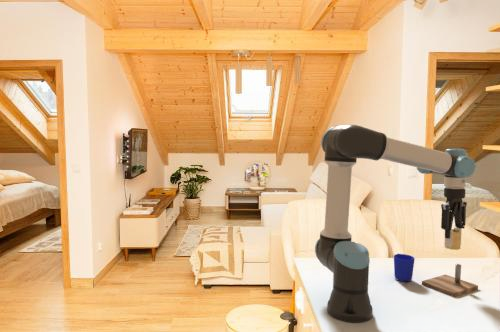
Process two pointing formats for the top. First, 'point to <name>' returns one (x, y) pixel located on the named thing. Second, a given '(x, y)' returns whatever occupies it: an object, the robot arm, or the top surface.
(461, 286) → the board
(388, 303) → the top surface
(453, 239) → the bushing
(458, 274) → the post
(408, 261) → the mug
